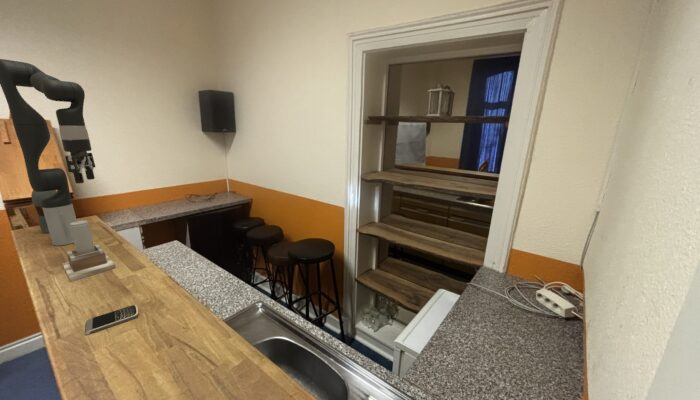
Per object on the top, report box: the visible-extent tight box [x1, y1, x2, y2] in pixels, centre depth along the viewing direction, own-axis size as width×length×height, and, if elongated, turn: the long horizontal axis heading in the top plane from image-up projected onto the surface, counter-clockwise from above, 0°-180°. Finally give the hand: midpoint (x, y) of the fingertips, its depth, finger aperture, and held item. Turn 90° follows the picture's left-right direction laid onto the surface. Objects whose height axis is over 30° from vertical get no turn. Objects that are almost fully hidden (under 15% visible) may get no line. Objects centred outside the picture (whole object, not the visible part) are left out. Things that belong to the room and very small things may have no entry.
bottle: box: [30, 189, 57, 234], centre depth 136 cm, size 9×9×30 cm
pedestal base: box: [62, 243, 116, 282], centre depth 102 cm, size 16×12×7 cm
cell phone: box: [84, 304, 139, 336], centre depth 74 cm, size 6×11×1 cm, turn 131°
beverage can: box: [70, 220, 95, 255], centre depth 100 cm, size 5×5×12 cm
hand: (85, 181), depth 107 cm, fingers open, 8 cm apart
